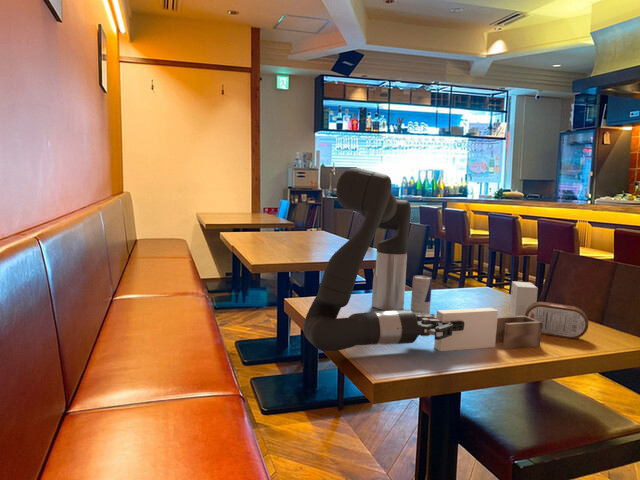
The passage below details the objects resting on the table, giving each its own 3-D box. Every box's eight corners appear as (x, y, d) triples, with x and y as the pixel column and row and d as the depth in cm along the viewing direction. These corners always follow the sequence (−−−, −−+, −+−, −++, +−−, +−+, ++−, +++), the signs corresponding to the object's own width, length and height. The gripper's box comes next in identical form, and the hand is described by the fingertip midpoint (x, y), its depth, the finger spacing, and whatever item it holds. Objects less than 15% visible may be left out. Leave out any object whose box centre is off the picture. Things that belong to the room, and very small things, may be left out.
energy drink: (432, 318, 135) (435, 277, 134) (422, 322, 131) (425, 280, 130) (416, 314, 139) (419, 274, 137) (406, 317, 135) (409, 276, 133)
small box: (534, 324, 134) (538, 287, 133) (514, 322, 135) (517, 286, 134) (528, 316, 142) (531, 282, 140) (508, 314, 143) (511, 280, 141)
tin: (586, 339, 122) (590, 307, 121) (587, 342, 120) (591, 310, 119) (523, 329, 129) (526, 299, 128) (523, 332, 126) (526, 301, 125)
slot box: (505, 348, 112) (508, 324, 111) (489, 340, 118) (491, 317, 117) (540, 346, 115) (542, 322, 114) (522, 338, 121) (525, 315, 120)
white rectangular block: (440, 351, 109) (442, 313, 107) (434, 347, 111) (436, 310, 110) (494, 347, 113) (498, 310, 112) (488, 343, 115) (491, 307, 114)
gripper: (408, 320, 98) (478, 316, 104) (380, 302, 112) (444, 300, 117) (405, 354, 99) (476, 349, 105) (378, 333, 113) (442, 329, 118)
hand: (458, 323), depth 111 cm, fingers closed on white rectangular block, 2 cm apart
